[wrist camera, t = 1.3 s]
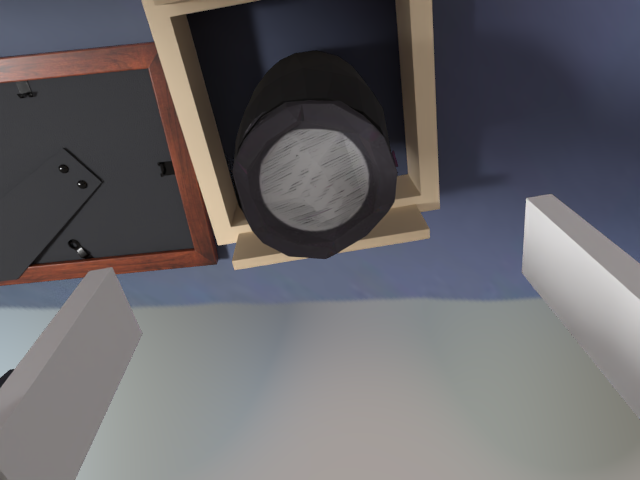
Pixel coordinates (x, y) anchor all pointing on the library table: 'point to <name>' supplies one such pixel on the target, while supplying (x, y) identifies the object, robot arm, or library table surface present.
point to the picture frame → (95, 168)
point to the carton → (208, 156)
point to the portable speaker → (313, 157)
